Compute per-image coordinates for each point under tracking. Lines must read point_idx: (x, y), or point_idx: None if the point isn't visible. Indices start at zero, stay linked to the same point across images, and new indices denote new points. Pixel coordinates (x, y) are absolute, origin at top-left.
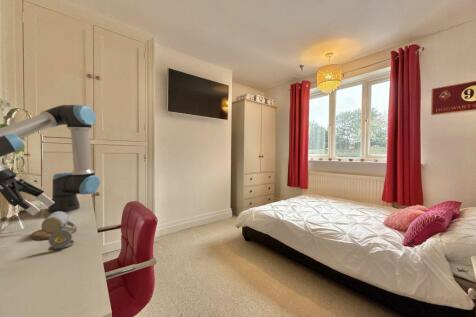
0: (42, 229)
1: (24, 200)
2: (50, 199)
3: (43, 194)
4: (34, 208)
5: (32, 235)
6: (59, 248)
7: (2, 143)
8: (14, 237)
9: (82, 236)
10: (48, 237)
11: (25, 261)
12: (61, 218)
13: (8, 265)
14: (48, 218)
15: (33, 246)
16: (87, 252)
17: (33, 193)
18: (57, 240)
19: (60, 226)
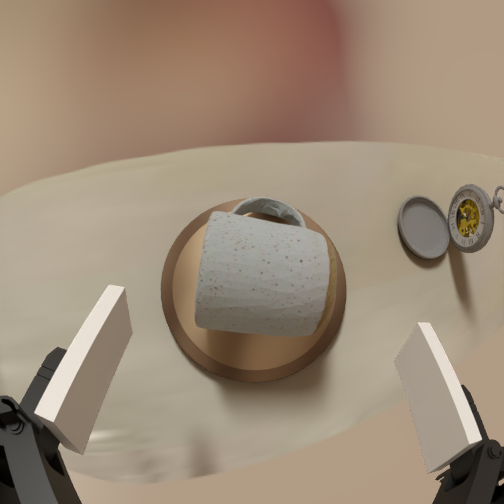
0: (205, 350)
1: (477, 440)
2: (89, 320)
3: (51, 397)
4: (440, 356)
5: (288, 370)
6: (445, 233)
7: None
8: (239, 440)
9: (349, 176)
10: (345, 293)
11: (483, 300)
12: (309, 231)
13: (489, 330)
14: (331, 295)
15: (396, 325)
16: (466, 169)
17: (72, 499)
18: (468, 228)
19: (500, 202)
